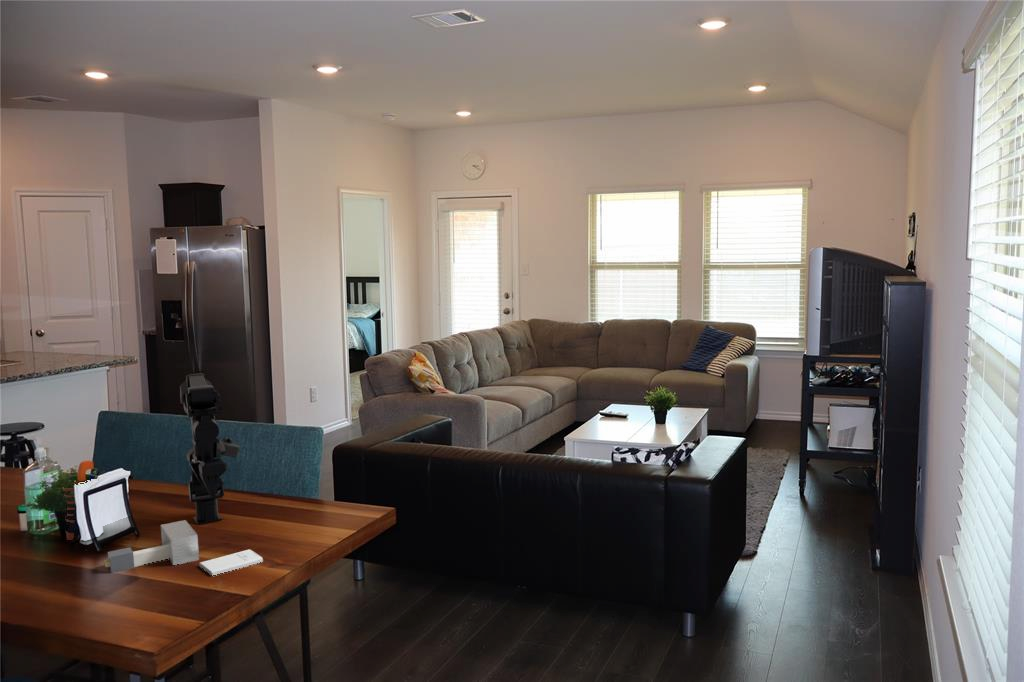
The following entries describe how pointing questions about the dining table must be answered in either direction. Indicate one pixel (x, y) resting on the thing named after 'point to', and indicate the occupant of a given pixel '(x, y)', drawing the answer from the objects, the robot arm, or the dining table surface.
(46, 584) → the dining table surface
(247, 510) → the dining table surface
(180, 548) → the block
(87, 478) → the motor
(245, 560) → the external hard drive
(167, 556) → the cable plug
